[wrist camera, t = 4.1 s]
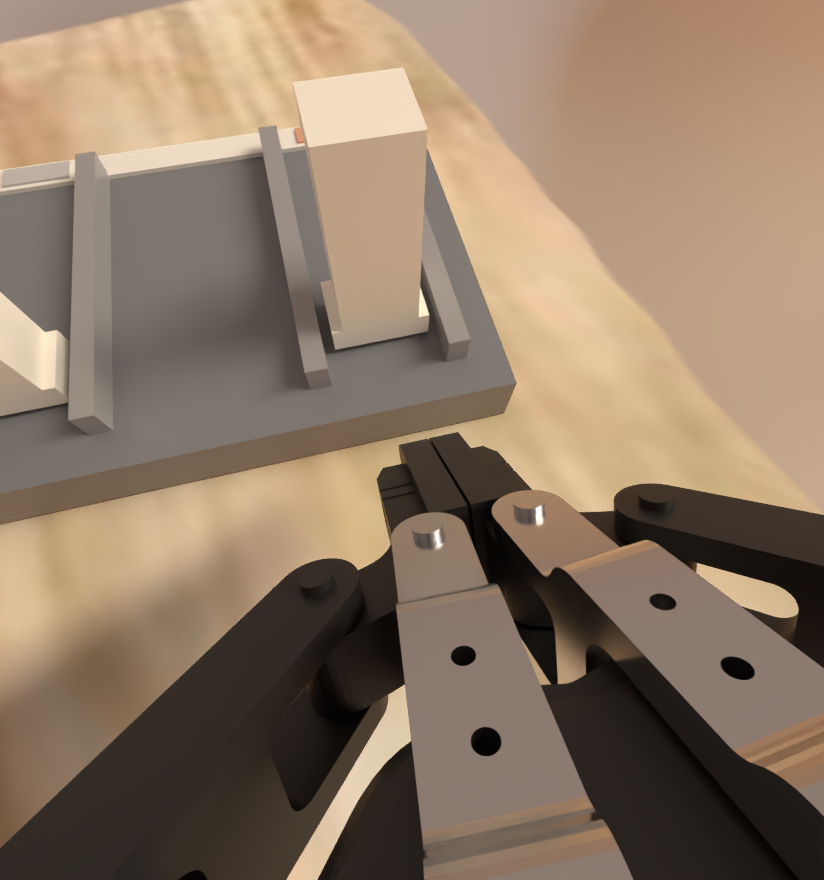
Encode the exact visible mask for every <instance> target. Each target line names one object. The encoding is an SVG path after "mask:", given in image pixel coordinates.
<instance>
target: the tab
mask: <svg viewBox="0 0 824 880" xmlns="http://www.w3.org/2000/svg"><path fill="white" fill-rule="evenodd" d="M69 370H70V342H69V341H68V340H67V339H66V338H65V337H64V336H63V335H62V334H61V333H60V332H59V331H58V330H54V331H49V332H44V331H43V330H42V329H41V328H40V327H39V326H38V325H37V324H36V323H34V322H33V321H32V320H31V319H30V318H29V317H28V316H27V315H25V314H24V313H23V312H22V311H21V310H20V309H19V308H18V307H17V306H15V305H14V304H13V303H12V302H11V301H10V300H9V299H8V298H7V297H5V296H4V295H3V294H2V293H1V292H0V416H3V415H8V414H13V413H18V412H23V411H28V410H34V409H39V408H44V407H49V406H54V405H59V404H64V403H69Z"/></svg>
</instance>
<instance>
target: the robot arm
mask: <svg viewBox="0 0 824 880" xmlns="http://www.w3.org/2000/svg"><path fill="white" fill-rule="evenodd" d="M399 453H400V458H401V464H400V465H395V466H391V467H386V468H383V469H382V471H381V472H380V474H379V476H378V478H377V483H378V488H379V493H380V497H381V502H382V507H383V512H384V517H385V522H386V526H387V531H388V535H389V539H390V543H391V545H390V547H389V549H388V550H387V552H386V553H385V554H384V555H383V556H382V557H381V558H379V559H378V560H377V561H375V562H374V563H372V564H370V565H368V566H366V567H364V568H362V569H360V570H357V568H356V567H355V566H354V565H353V564H352V563H350V562H348V561H346V560H342V559H321V560H316V561H313V562H310V563H307V564H305V565H303V566H301V567H299V568H297V569H295V570H294V571H292V572H291V573H290V574H288V575H287V576H286V577H285V578H284V579H283V580H282V581H281V582H280V583H279V584H278V585H277V586H276V587H274V588H273V589H272V590H271V591H270V592H269V593H268V594H267V595H266V596H265V597H264V598H263V599H262V600H261V601H260V602H259V603H258V604H257V605H256V606H255V607H253V608H252V609H251V610H250V611H249V612H248V613H247V614H246V615H245V616H244V617H243V618H242V619H241V620H240V621H239V622H238V623H237V624H236V625H235V626H233V627H232V628H231V629H230V630H229V631H228V632H227V633H226V634H225V635H224V636H223V637H222V638H221V639H220V640H219V641H218V642H217V643H216V644H215V645H214V646H212V647H211V648H210V649H209V650H208V651H207V652H206V653H205V654H204V655H203V656H202V657H201V658H200V659H199V660H198V661H197V662H196V663H195V664H194V665H193V666H191V667H190V668H189V669H188V670H187V671H186V672H185V673H184V674H183V675H182V676H181V677H180V678H179V679H178V680H177V681H176V682H175V683H174V684H173V685H171V686H170V687H169V688H168V689H167V690H166V691H165V692H164V693H163V694H162V695H161V696H160V697H159V698H158V699H157V700H156V701H155V702H154V703H153V704H152V705H150V706H149V707H148V708H147V709H146V710H145V711H144V712H143V713H142V714H141V715H140V716H139V717H138V718H137V719H136V720H135V721H134V722H133V723H132V724H130V725H129V726H128V727H127V728H126V729H125V730H124V731H123V732H122V733H121V734H120V735H119V736H118V737H117V738H116V739H115V740H114V741H113V742H112V743H111V744H109V745H108V746H107V747H106V748H105V749H104V750H103V751H102V752H101V753H100V754H99V755H98V756H97V757H96V758H95V759H94V760H93V761H92V762H91V763H90V764H88V765H87V766H86V767H85V768H84V769H83V770H82V771H81V772H80V773H79V774H78V775H77V776H76V777H75V778H74V779H73V780H72V781H71V782H70V783H68V784H67V785H66V786H65V787H64V788H63V789H62V790H61V791H60V792H59V793H58V794H57V795H56V796H55V797H54V798H53V799H52V800H51V801H50V802H49V803H47V804H46V805H45V806H44V807H43V808H42V809H41V810H40V811H39V812H38V813H37V814H36V815H35V816H34V817H33V818H32V819H31V820H30V821H29V822H28V823H26V824H25V825H24V826H23V827H22V828H21V829H20V830H19V831H18V832H17V833H16V834H15V835H14V836H13V837H12V838H11V839H10V840H9V841H8V842H6V843H5V844H4V845H3V846H2V847H1V848H0V880H286V879H287V877H288V876H289V874H290V872H291V871H292V869H293V867H294V865H295V864H296V862H297V860H298V859H299V857H300V855H301V854H302V852H303V850H304V849H305V847H306V845H307V843H308V842H309V840H310V838H311V837H312V835H313V833H314V832H315V830H316V828H317V827H318V825H319V823H320V821H321V820H322V818H323V816H324V815H325V813H326V811H327V810H328V808H329V806H330V805H331V803H332V801H333V800H334V798H335V796H336V794H337V793H338V791H339V789H340V788H341V786H342V784H343V783H344V781H345V779H346V778H347V776H348V774H349V772H350V771H351V769H352V767H353V766H354V764H355V762H356V761H357V759H358V757H359V756H360V754H361V752H362V750H363V749H364V747H365V745H366V744H367V742H368V740H369V739H370V737H371V735H372V734H373V732H374V730H375V729H376V727H377V725H378V723H379V722H380V720H381V718H382V717H383V715H384V713H385V711H386V708H387V704H388V694H390V693H391V692H393V691H395V690H396V689H398V688H400V687H401V686H403V685H404V684H405V689H406V697H407V706H408V715H409V724H410V733H411V742H409V743H408V744H407V745H405V746H404V747H403V748H401V749H400V750H399V751H398V752H397V753H396V754H395V755H394V756H393V757H392V758H391V759H390V760H389V761H387V762H386V764H385V765H384V766H383V767H382V768H381V770H380V771H379V772H378V773H377V774H376V776H375V777H374V778H373V779H372V781H371V782H370V784H369V785H368V787H367V788H366V790H365V791H364V793H363V794H362V796H361V797H360V799H359V800H358V802H357V804H356V806H355V808H354V809H353V811H352V813H351V815H350V817H349V819H348V821H347V823H346V825H345V827H344V829H343V831H342V833H341V835H340V837H339V839H338V841H337V843H336V845H335V847H334V849H333V851H332V852H331V854H330V856H329V858H328V860H327V862H326V864H325V866H324V868H323V870H322V872H321V874H320V876H319V878H318V880H824V515H820V514H815V513H810V512H805V511H800V510H794V509H789V508H784V507H779V506H773V505H768V504H763V503H758V502H753V501H747V500H742V499H737V498H732V497H727V496H721V495H716V494H711V493H706V492H701V491H695V490H690V489H685V488H680V487H675V486H669V485H663V484H639V485H633V486H630V487H627V488H624V489H622V490H621V491H619V492H618V493H617V494H616V496H615V498H614V511H607V512H577V511H576V510H575V509H574V508H573V507H571V506H570V505H569V504H568V503H567V502H565V501H564V500H563V499H562V498H560V497H559V496H557V495H555V494H552V493H549V492H545V491H538V490H532V489H531V488H530V487H529V486H528V485H527V484H526V483H525V482H524V480H523V479H522V478H521V477H520V476H519V475H518V474H517V473H516V472H515V471H513V468H512V467H511V466H510V465H509V464H508V463H506V461H505V460H504V458H503V457H502V456H501V455H500V454H499V453H498V452H496V451H494V450H491V449H489V448H486V447H484V446H480V447H476V448H470V447H469V445H468V444H467V443H466V442H465V440H464V439H463V438H462V436H461V435H460V434H459V433H458V432H456V433H452V434H447V435H442V436H438V437H433V438H429V440H428V439H424V440H420V441H415V442H411V443H406V444H401V445H399ZM697 563H700V564H703V565H707V566H711V567H714V568H718V569H721V570H725V571H729V572H732V573H736V574H739V575H743V576H747V577H750V578H754V579H757V580H761V581H765V582H768V583H772V584H775V585H777V586H779V587H781V588H783V589H785V590H786V591H788V592H789V593H790V594H791V595H792V596H793V597H794V599H795V600H796V602H797V604H798V608H799V612H798V614H797V615H796V616H794V617H790V618H778V617H774V616H770V615H767V614H764V613H761V612H758V611H754V610H751V609H748V608H745V607H742V606H740V605H738V604H737V603H736V602H734V601H733V600H732V599H730V598H729V597H728V596H726V595H725V594H724V593H722V592H721V591H720V590H718V589H717V588H716V587H714V586H713V585H712V584H710V583H709V582H708V581H706V580H705V579H704V578H702V577H701V576H700V575H698V574H697V573H696V568H697ZM304 687H305V688H304ZM300 692H301V693H300ZM297 696H298V697H297ZM293 701H294V702H293ZM290 705H291V706H290ZM286 710H287V711H286Z"/></svg>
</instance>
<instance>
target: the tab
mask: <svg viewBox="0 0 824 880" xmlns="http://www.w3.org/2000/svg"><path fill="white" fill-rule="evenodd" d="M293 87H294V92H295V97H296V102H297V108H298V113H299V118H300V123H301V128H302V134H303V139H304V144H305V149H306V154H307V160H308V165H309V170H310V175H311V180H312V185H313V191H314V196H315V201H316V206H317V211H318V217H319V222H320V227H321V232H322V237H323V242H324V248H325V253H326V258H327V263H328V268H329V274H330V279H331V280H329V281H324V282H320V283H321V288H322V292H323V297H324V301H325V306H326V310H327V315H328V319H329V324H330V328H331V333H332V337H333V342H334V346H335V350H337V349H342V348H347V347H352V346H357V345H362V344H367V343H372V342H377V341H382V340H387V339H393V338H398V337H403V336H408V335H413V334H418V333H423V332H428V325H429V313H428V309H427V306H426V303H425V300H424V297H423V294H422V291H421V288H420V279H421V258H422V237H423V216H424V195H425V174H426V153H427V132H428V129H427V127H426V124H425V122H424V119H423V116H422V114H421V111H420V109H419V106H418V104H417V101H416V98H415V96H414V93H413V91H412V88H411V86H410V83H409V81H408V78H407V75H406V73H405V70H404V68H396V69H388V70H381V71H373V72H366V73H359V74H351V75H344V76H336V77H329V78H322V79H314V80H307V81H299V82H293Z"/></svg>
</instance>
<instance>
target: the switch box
mask: <svg viewBox="0 0 824 880" xmlns="http://www.w3.org/2000/svg"><path fill="white" fill-rule="evenodd" d="M258 129H259V132H258V133H252V134H245V135H238V136H231V137H224V138H217V139H210V140H203V141H197V142H190V143H183V144H176V145H169V146H162V147H155V148H148V149H142V150H135V151H128V152H121V153H114V154H107V155H100V156H97V154H96V153H95V152H89V153H82V154H75V159H73V160H66V161H59V162H52V163H45V164H38V165H31V166H25V167H18V168H11V169H4V170H0V292H1V293H2V294H3V295H4V296H5V297H7V298H8V299H9V300H10V301H11V302H12V303H13V304H14V305H15V306H17V307H18V308H19V309H20V310H21V311H22V312H23V313H24V314H25V315H27V316H28V317H29V318H30V319H31V320H32V321H33V322H34V323H36V324H37V325H38V326H39V327H40V328H41V329H42V330H43V331H44V332H49V331H54V330H58V331H59V332H60V333H61V334H62V335H63V336H64V337H65V338H66V339H67V340H68V341H69V342H70V370H69V403H64V404H59V405H54V406H49V407H44V408H39V409H34V410H28V411H23V412H18V413H13V414H8V415H3V416H0V524H4V523H8V522H13V521H17V520H22V519H26V518H31V517H35V516H40V515H44V514H49V513H53V512H58V511H63V510H67V509H72V508H76V507H81V506H85V505H90V504H94V503H99V502H103V501H108V500H112V499H117V498H121V497H126V496H130V495H135V494H140V493H144V492H149V491H153V490H158V489H162V488H167V487H171V486H176V485H180V484H185V483H189V482H194V481H198V480H203V479H207V478H212V477H216V476H221V475H226V474H230V473H235V472H239V471H244V470H248V469H253V468H257V467H262V466H266V465H271V464H275V463H280V462H284V461H289V460H293V459H298V458H303V457H307V456H312V455H316V454H321V453H325V452H330V451H334V450H339V449H343V448H348V447H352V446H357V445H361V444H366V443H370V442H375V441H380V440H384V439H389V438H393V437H398V436H402V435H407V434H411V433H416V432H420V431H425V430H429V429H434V428H438V427H443V426H447V425H452V424H457V423H461V422H466V421H470V420H475V419H479V418H484V417H488V416H493V415H497V414H502V413H504V412H505V409H506V407H507V405H508V402H509V400H510V398H511V395H512V393H513V390H514V388H515V386H516V380H515V378H514V375H513V372H512V370H511V367H510V364H509V362H508V359H507V357H506V354H505V351H504V349H503V346H502V343H501V341H500V338H499V336H498V333H497V330H496V328H495V325H494V322H493V320H492V317H491V315H490V312H489V309H488V307H487V304H486V301H485V299H484V296H483V294H482V291H481V288H480V286H479V283H478V280H477V278H476V275H475V273H474V270H473V267H472V265H471V262H470V259H469V257H468V254H467V252H466V249H465V246H464V244H463V241H462V238H461V236H460V233H459V231H458V228H457V225H456V223H455V220H454V217H453V215H452V212H451V210H450V207H449V204H448V202H447V199H446V196H445V194H444V191H443V189H442V186H441V183H440V181H439V178H438V175H437V173H436V170H435V168H434V165H433V162H432V160H431V157H430V154H429V152H428V149H427V153H426V174H425V195H424V216H423V237H422V258H421V279H420V288H421V291H422V294H423V297H424V300H425V303H426V306H427V309H428V313H429V325H428V332H423V333H418V334H413V335H408V336H403V337H398V338H393V339H387V340H382V341H377V342H372V343H367V344H362V345H357V346H352V347H347V348H342V349H337V350H335V346H334V342H333V337H332V333H331V328H330V324H329V319H328V315H327V310H326V306H325V301H324V297H323V292H322V288H321V283H320V282H324V281H329V280H331V279H330V274H329V268H328V263H327V258H326V253H325V248H324V242H323V237H322V232H321V227H320V222H319V217H318V211H317V206H316V201H315V196H314V191H313V185H312V180H311V175H310V170H309V165H308V160H307V154H306V149H305V144H304V139H303V134H302V128H301V126H300V127H293V128H286V129H279V130H277V127H276V126H269V127H262V128H258Z"/></svg>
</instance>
